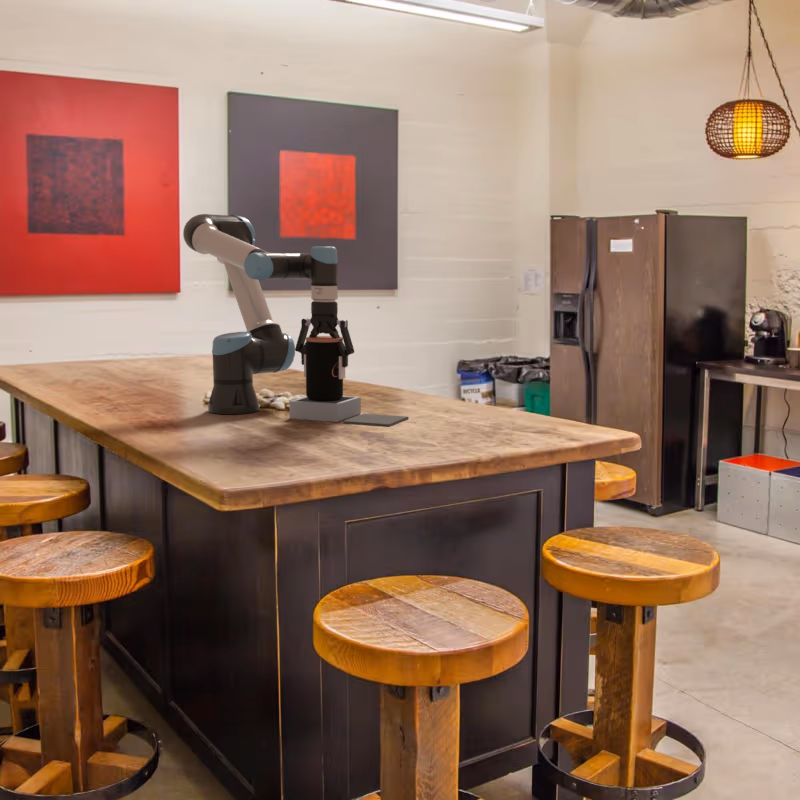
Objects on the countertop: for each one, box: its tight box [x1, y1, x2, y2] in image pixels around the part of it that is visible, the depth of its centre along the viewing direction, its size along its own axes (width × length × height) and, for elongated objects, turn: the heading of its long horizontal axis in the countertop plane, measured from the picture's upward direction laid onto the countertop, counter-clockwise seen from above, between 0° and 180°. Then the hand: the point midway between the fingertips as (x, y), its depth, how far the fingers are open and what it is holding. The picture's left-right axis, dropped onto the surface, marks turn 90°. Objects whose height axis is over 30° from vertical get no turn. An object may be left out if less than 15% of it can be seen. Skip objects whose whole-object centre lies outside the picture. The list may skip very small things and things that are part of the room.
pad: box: [342, 413, 409, 427], centre depth 259 cm, size 14×14×1 cm
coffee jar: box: [305, 335, 344, 402], centre depth 266 cm, size 11×11×18 cm
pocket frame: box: [288, 395, 362, 423], centre depth 267 cm, size 15×15×5 cm
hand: (324, 377), depth 266 cm, fingers closed on coffee jar, 11 cm apart
